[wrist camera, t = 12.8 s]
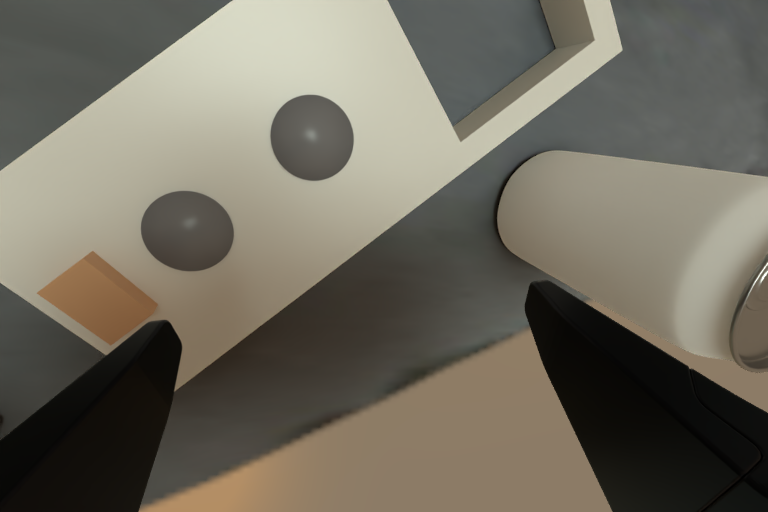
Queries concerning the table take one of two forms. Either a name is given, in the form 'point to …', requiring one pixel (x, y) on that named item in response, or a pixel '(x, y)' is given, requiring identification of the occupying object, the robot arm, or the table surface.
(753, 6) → the table surface
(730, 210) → the can
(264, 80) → the control panel
